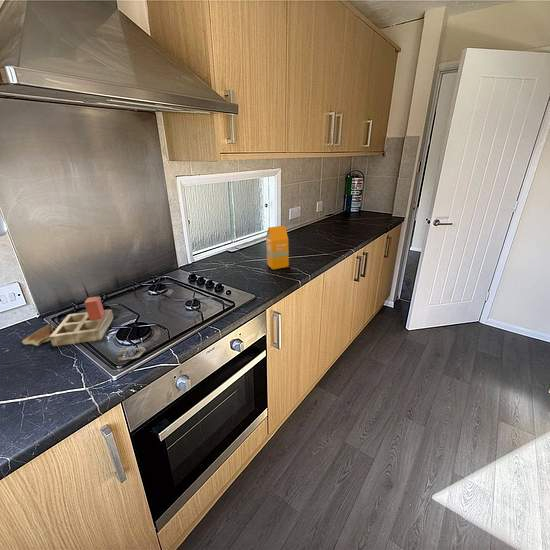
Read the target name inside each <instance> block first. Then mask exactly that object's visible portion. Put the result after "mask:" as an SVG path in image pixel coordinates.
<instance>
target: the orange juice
mask: <svg viewBox="0 0 550 550" xmlns="http://www.w3.org/2000/svg"><path fill="white" fill-rule="evenodd" d="M265 243H266V245H265V246H266V247H265V248H266V265H267V266H268V267H269V268H270V269H271V270H278V269H282V268H283V269H284V268H289V267H290V262H289V261H290V258H289V256H290V253H289V236H288V232H287V229H286V225H279V226H271V227H268V228H267V232H266V236H265Z"/></svg>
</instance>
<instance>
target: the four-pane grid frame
mask: <svg viewBox="0 0 550 550" xmlns="http://www.w3.org/2000/svg"><path fill="white" fill-rule="evenodd" d="M104 313H105V314H104V315H103V317H102V319H95V320H90V319H89V316H88V313H87V311H85V312H77V313H69V314H68V313H67V315H66V317H64V319H63V320H62V321H61V322H60V324H59V325H58V326H57V327H56V328H55V330H53V333H52V334H51V336H50V337H49V338H50V340H49V341H50V342H51V345H52V347H59V346H64V345H65V346H66V345H73V344H81V343H88V342H95V341H101V340H103V337H105V334H106V332H107V331H108V329H109V327H110V325H111V323H112V321H113V319H114V313H113V311H112V308H110V309H104Z"/></svg>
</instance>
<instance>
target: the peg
mask: <svg viewBox="0 0 550 550" xmlns="http://www.w3.org/2000/svg"><path fill="white" fill-rule="evenodd" d="M83 304H84V306H85V309H86V312H87V313H88V316H89V319H90V320H95V319H102V317H103V315H104V314H105V313H104V310H105V309H104V307H103V303H102V300H101V296H90V297H87V298H86V300H85V301H84V303H83Z"/></svg>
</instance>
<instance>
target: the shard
mask: <svg viewBox="0 0 550 550" xmlns="http://www.w3.org/2000/svg"><path fill="white" fill-rule="evenodd" d="M53 332H54V327H53V322H52V321H50V322H49V323H47V324H46V325H44V326H42V327H40V328H39V329H38V330H36V331H34V332H33V333H31V334H29V335H28V336H26V337H25V338H23V339H22V341H21V342H22V343H23V345H26V346H27V345H33V346H37V347H38V346H40V345H41V344H44V343H46V342H49V341H51V340H50V338H49V337H50V336H51V334H52V333H53Z"/></svg>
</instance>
